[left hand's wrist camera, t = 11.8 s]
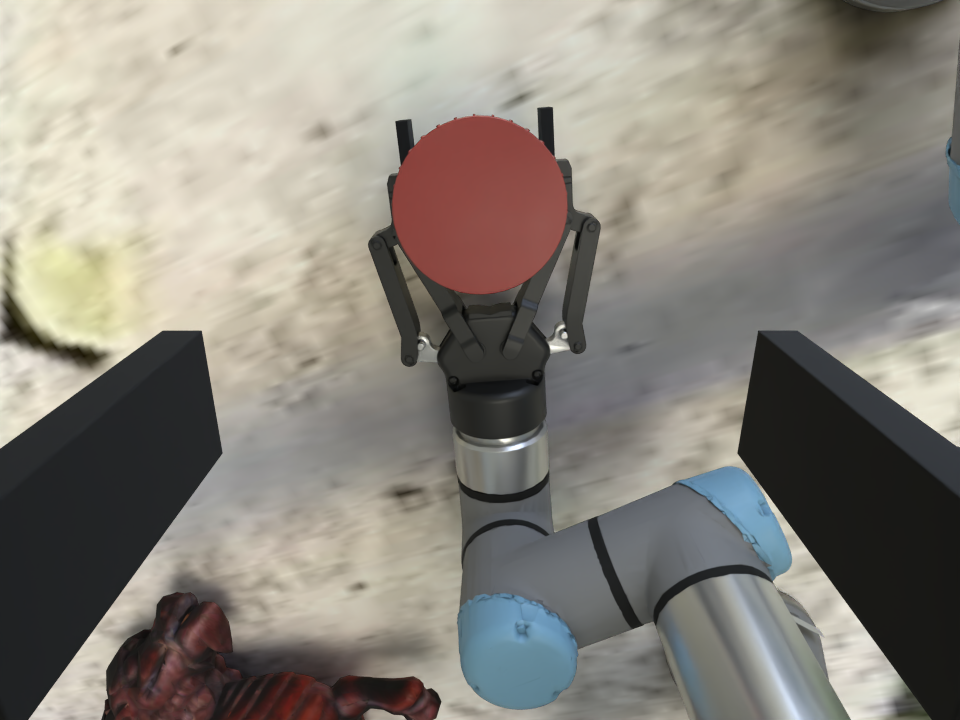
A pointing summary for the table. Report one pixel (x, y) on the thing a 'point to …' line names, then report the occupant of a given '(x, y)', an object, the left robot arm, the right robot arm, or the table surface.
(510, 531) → the right robot arm
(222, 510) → the table surface
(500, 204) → the lid
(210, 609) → the sculpture
